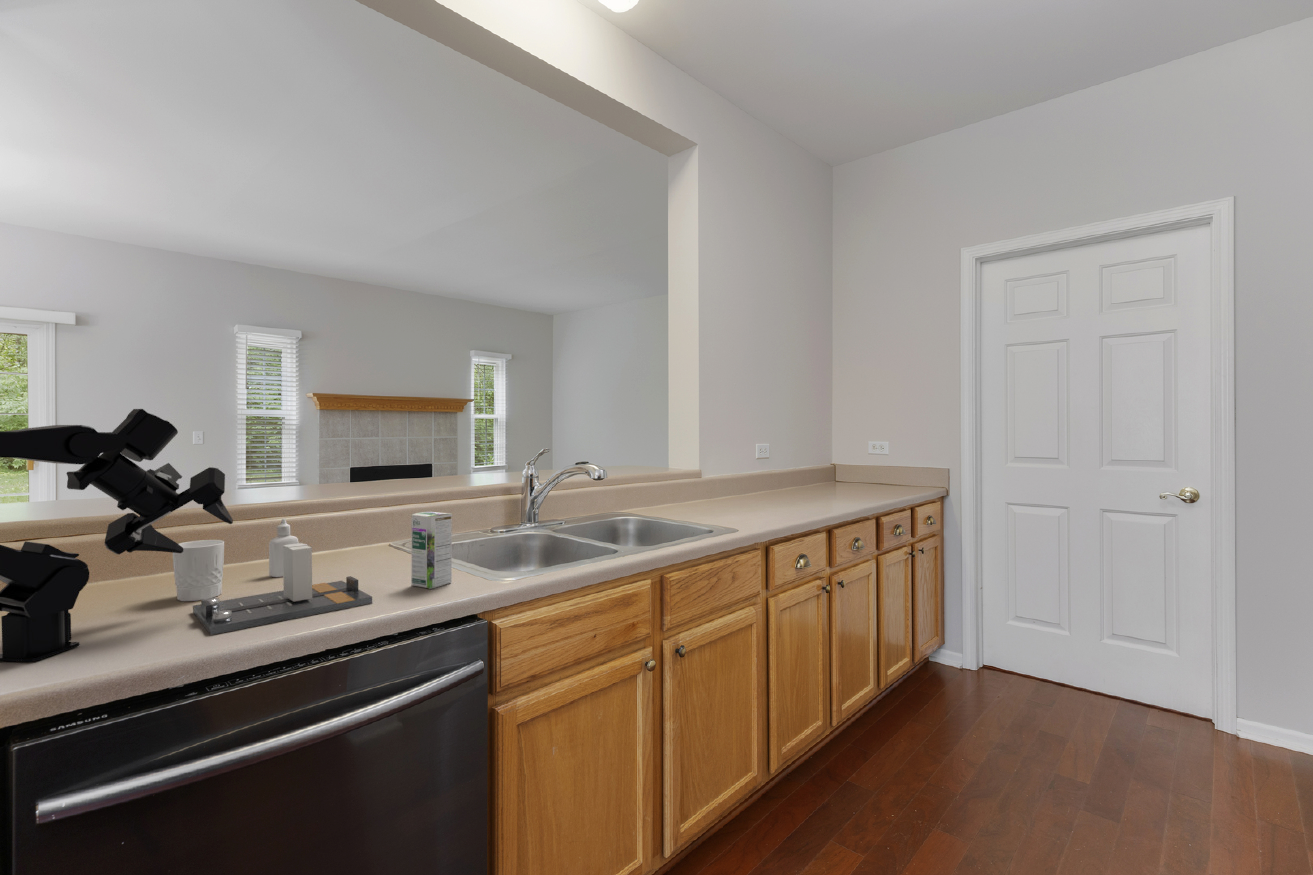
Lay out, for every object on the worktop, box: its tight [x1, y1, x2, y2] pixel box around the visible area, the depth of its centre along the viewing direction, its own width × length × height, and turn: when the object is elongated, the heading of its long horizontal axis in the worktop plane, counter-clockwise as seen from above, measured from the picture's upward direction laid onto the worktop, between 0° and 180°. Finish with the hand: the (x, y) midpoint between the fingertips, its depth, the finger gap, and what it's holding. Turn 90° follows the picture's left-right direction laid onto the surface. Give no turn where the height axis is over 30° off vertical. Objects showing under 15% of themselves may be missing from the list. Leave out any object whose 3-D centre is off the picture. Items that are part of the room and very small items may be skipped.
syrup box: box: [410, 511, 453, 590], centre depth 125 cm, size 6×6×14 cm
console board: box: [192, 576, 373, 636], centre depth 109 cm, size 24×16×3 cm
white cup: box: [172, 539, 225, 602], centre depth 116 cm, size 8×8×10 cm
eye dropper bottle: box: [268, 518, 300, 578], centre depth 133 cm, size 4×6×12 cm
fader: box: [283, 542, 313, 602], centre depth 110 cm, size 3×6×9 cm, turn 45°
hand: (207, 536), depth 108 cm, fingers open, 9 cm apart
